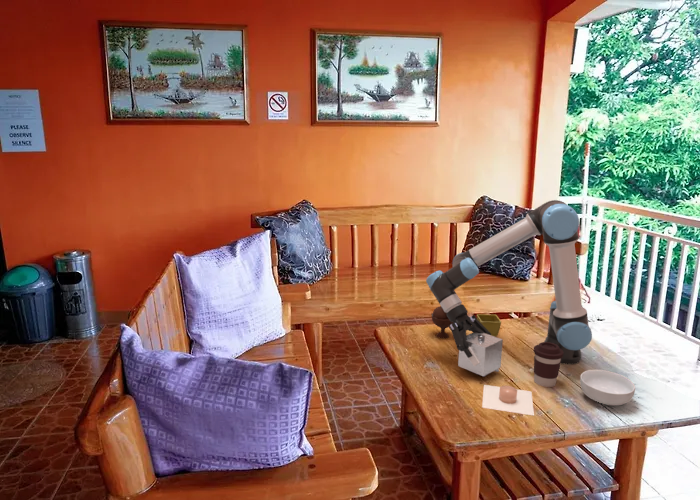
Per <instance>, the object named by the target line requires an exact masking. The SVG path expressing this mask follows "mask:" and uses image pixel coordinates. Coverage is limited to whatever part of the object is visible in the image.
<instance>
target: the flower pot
mask: <svg viewBox="0 0 700 500" xmlns="http://www.w3.org/2000/svg"><path fill="white" fill-rule="evenodd" d="M476 318H477V320H478V321H479V322H480V323H481V324H482V325H483V326H484V327H485V328H486V329H487V330H488V331H489V332H490V333H491V336H494V337H498V335H499V332H500V331H501V325H502V321H501V319H500V318H499V316H498V315H497V314H484V313H483V314H481V313H480V314H479V313H478V314H476ZM486 334H487V333H486Z"/></svg>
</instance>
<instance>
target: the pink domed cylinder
mask: <svg viewBox="0 0 700 500" xmlns="http://www.w3.org/2000/svg"><path fill="white" fill-rule="evenodd" d="M499 387H500V392H499V399H500V401H502V402H504V403H509V404H512V403H515V402H516V399H517V388H516V387H513V386H511V385H502V386H499Z"/></svg>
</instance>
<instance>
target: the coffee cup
mask: <svg viewBox="0 0 700 500" xmlns="http://www.w3.org/2000/svg"><path fill="white" fill-rule="evenodd" d="M533 353H534V357H533V374H534V375H533V381H534V383H535V384H537V385H539V386H541V387H544V388H545V387H547V388H553V387H555V386H556V384H557V379H558V378H559V377H558V376H559V374H560V373H559V372H560V368H561V367H560V366H561V365H562V364H561V358H562V357H563V353H564V352H563V350H562V349H560V348H559V346H558V345H556V344H554V343H550V342H544V341H541V342H539V343H538V344H535V346H533Z"/></svg>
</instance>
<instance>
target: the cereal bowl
mask: <svg viewBox="0 0 700 500" xmlns="http://www.w3.org/2000/svg"><path fill="white" fill-rule="evenodd" d="M579 385H580V388H581V391H582V392H583V393H584V395H586V396H587V397H588V398H589V399H591V400H592V401H595V402H596V401H597V402H596V403H598V402H599V403H598V404H601V403H603V404H602V405H604V404H607V405H606V406H621V405H624V404H627V403H629V402H630V401H631V400H632V399H633V398H634V395H635V393H636V386H635V383H634V382H633V381H632V380H631V379H629V378H628V377H626V376H624V375H622V374H621V373H617V372H614V371H609V370H604V369H587V370H585V371H583V372H582V373H581V374H580V375H579Z"/></svg>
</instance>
